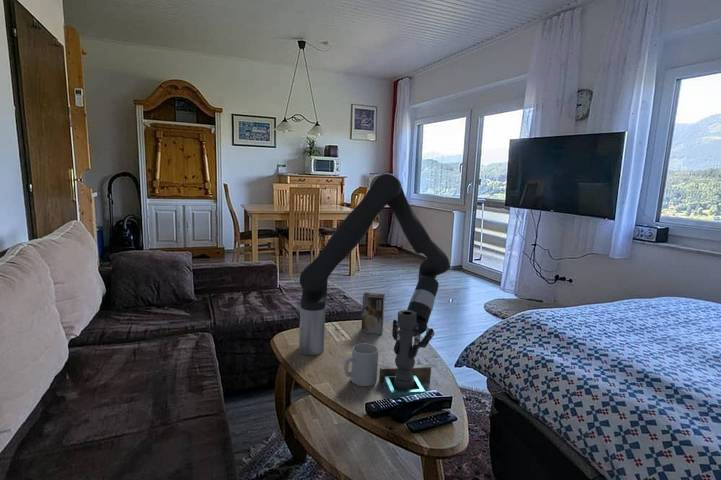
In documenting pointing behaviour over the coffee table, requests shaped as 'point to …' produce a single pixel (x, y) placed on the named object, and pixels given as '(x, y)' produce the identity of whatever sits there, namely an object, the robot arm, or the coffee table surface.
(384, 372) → the door edge rail
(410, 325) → the candle holder
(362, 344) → the mug
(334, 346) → the coffee table surface
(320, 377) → the coffee table surface
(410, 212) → the robot arm
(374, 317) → the coffee box
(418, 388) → the frame
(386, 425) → the coffee table surface
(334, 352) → the coffee table surface
